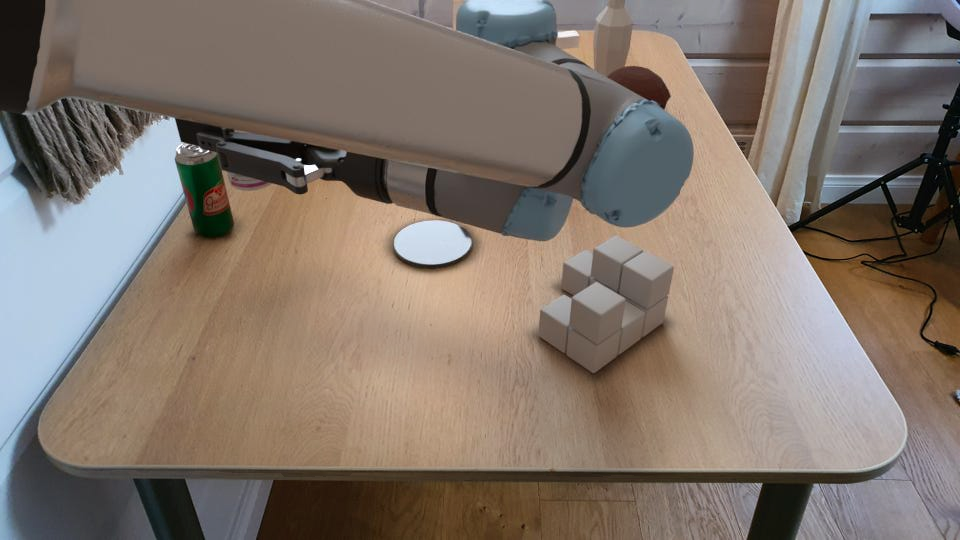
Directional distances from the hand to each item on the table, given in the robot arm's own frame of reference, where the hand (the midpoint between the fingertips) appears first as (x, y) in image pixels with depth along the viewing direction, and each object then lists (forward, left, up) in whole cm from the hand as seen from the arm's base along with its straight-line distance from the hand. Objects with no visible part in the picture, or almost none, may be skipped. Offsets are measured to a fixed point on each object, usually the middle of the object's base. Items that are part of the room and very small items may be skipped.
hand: (200, 116), depth 74 cm
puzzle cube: (+36, -19, -22) cm, 46 cm away
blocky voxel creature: (+54, +51, -22) cm, 77 cm away
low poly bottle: (+70, +41, -22) cm, 84 cm away
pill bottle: (+4, -4, -6) cm, 8 cm away
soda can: (-2, +14, -22) cm, 26 cm away
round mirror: (+24, +1, -22) cm, 32 cm away
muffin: (+64, +22, -22) cm, 71 cm away
